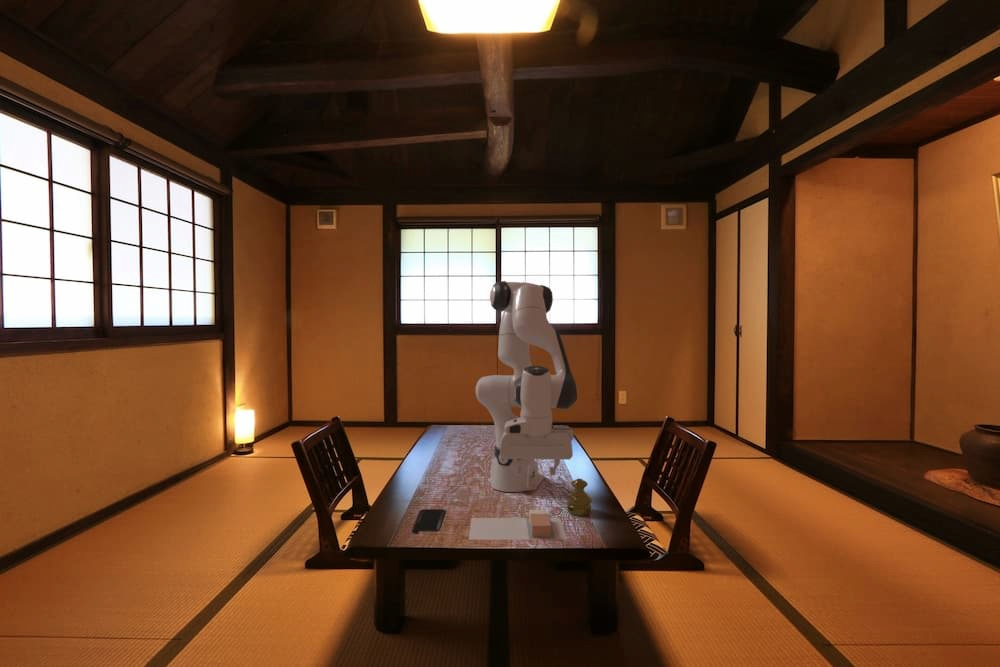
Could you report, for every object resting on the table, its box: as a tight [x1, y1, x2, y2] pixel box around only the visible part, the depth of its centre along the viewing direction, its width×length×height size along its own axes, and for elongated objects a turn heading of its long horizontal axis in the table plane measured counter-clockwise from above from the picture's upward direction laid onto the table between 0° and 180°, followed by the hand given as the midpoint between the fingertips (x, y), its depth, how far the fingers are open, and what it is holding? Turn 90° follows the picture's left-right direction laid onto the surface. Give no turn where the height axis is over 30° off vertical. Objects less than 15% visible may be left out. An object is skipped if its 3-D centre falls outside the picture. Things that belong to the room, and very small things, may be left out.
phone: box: [411, 508, 447, 534], centre depth 142 cm, size 8×1×15 cm
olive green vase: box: [566, 478, 593, 517], centre depth 150 cm, size 7×8×10 cm
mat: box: [468, 517, 568, 541], centre depth 137 cm, size 14×26×1 cm, turn 90°
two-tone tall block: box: [528, 509, 551, 537], centre depth 137 cm, size 11×5×3 cm, turn 0°
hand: (535, 474), depth 137 cm, fingers open, 8 cm apart
